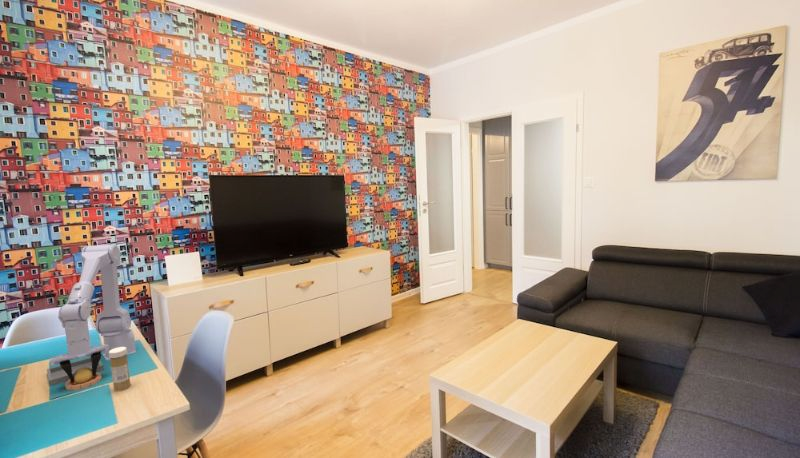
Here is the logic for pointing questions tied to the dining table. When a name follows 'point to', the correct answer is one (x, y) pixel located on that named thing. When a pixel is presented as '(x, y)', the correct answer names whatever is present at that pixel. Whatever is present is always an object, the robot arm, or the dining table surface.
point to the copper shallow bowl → (79, 386)
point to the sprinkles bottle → (119, 368)
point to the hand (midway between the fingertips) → (83, 378)
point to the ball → (82, 375)
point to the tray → (59, 375)
